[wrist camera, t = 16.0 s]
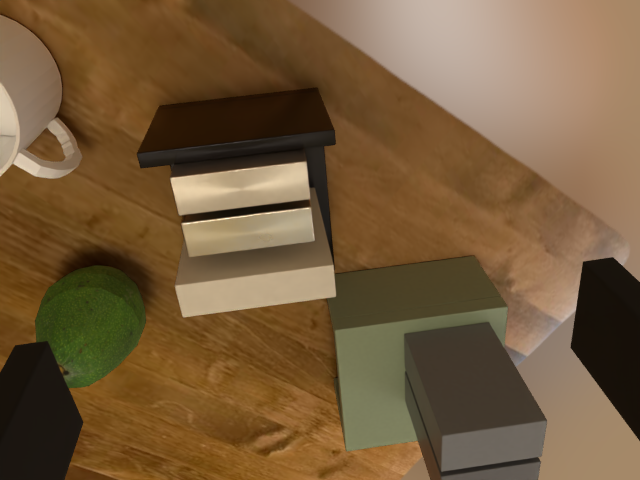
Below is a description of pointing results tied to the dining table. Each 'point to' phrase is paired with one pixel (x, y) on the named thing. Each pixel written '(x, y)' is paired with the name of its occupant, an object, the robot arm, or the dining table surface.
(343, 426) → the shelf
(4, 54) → the mug
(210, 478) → the dining table surface
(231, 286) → the white book
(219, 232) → the book rack
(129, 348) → the avocado
